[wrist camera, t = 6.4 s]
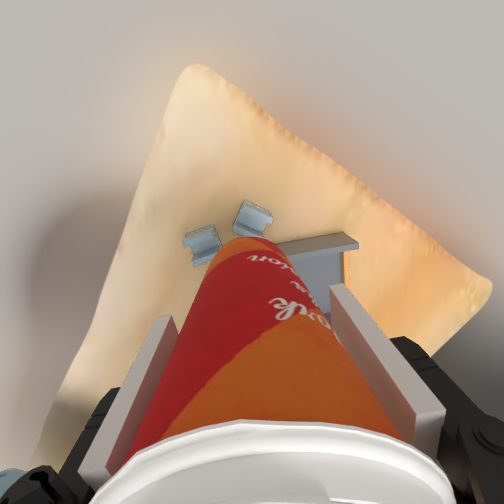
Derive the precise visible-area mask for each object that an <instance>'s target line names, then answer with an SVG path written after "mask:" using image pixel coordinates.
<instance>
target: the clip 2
mask: <svg viewBox="0 0 504 504" xmlns="http://www.w3.org/2000/svg"><path fill="white" fill-rule="evenodd" d="M271 214H272V212H270V211H267V210H265V209H263V208H261V207H259V206H257V205H255V204H252V203H250V202H248V201H246V200H244V203H243V205H242V207H241V209H240V211H239V214H238V216H237V218H236V220H235V222H234V225H233V232H235V233H238V234H240V235H242V236H245V237H259V238H263V239H264V237H263V234H262V232H263V230H264V228H265V226H266V224H267V223H269V224H271V223H272V221H273V219H274V218H273V217H272V215H271Z"/></svg>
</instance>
